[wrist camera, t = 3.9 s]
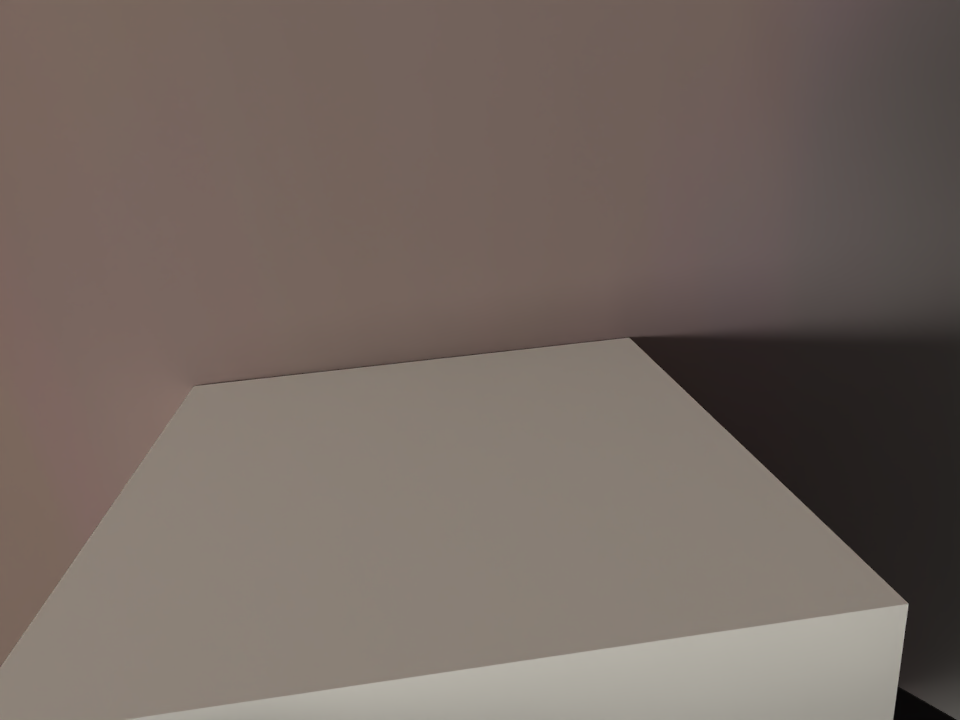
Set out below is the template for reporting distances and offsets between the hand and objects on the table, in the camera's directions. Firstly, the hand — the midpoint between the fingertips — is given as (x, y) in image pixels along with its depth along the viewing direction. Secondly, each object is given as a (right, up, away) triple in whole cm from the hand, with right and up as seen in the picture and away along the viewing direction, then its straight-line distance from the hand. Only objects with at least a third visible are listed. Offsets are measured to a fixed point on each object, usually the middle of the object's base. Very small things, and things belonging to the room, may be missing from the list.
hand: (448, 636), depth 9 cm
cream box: (0, 0, +1) cm, 1 cm away
